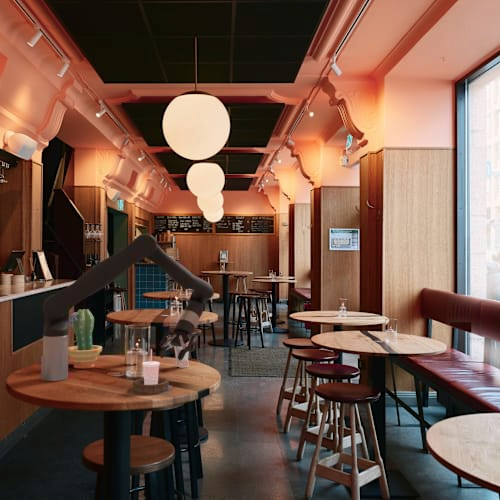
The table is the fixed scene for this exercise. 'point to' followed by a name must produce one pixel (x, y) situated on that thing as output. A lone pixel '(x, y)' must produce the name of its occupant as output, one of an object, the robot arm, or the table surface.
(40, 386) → the table surface
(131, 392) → the mat
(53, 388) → the table surface
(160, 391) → the bowl
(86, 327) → the potted cactus
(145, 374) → the beverage cup
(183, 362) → the beer glass
